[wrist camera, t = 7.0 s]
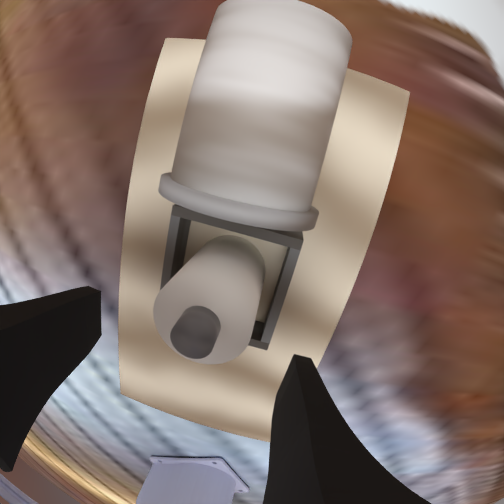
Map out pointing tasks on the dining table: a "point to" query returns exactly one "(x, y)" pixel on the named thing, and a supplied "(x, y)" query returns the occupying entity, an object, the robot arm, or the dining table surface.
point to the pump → (212, 301)
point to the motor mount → (253, 198)
